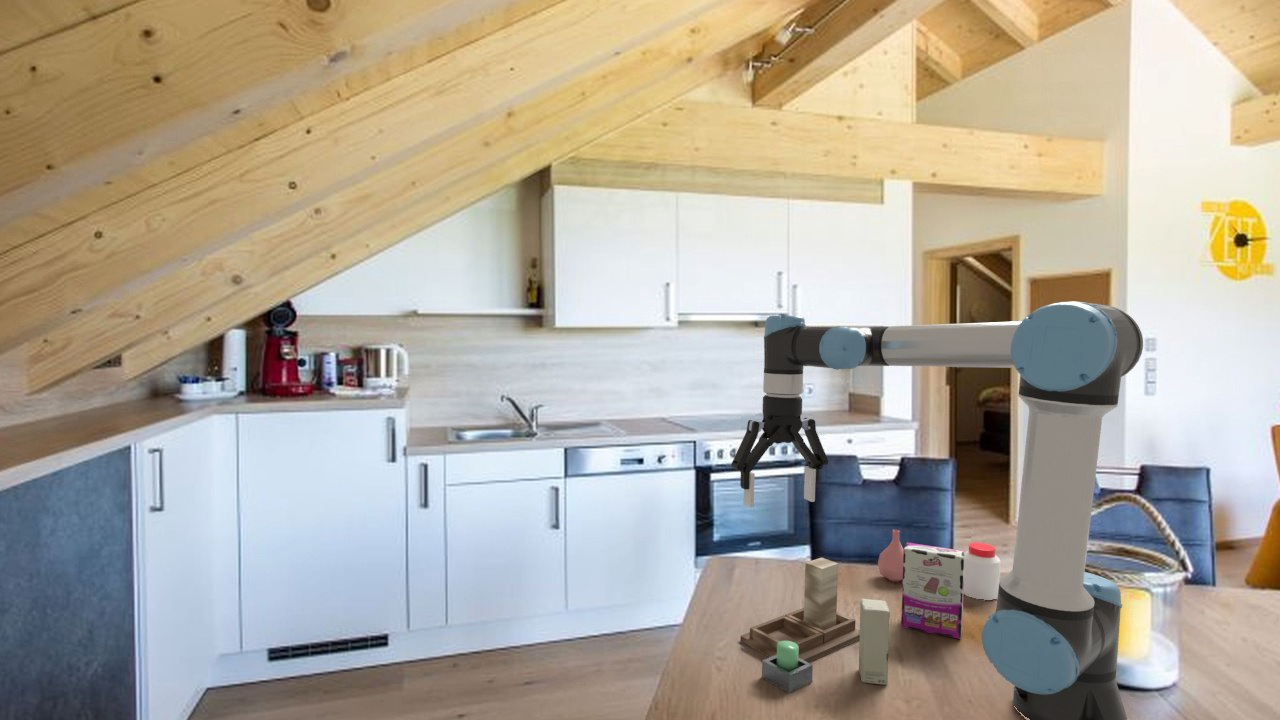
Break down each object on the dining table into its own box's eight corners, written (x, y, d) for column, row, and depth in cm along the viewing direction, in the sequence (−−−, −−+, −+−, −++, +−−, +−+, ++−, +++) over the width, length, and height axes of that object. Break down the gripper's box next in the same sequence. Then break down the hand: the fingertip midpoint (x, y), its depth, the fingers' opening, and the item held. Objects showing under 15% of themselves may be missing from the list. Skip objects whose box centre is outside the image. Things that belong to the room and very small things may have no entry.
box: (888, 686, 114) (891, 612, 113) (861, 683, 115) (863, 609, 114) (883, 670, 119) (886, 599, 118) (857, 667, 120) (860, 597, 119)
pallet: (864, 637, 131) (867, 567, 130) (793, 669, 119) (796, 592, 118) (810, 613, 142) (813, 548, 141) (740, 640, 129) (742, 569, 128)
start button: (802, 669, 115) (803, 646, 115) (788, 676, 113) (789, 653, 112) (786, 660, 118) (786, 638, 117) (772, 667, 116) (772, 644, 115)
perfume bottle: (879, 584, 158) (881, 534, 157) (875, 572, 165) (877, 524, 165) (914, 587, 156) (916, 537, 156) (908, 575, 164) (910, 527, 163)
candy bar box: (962, 630, 135) (966, 550, 134) (961, 640, 131) (965, 557, 130) (902, 617, 140) (906, 540, 139) (900, 627, 136) (903, 547, 135)
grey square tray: (812, 681, 115) (812, 664, 115) (788, 693, 111) (789, 675, 111) (784, 667, 119) (785, 650, 119) (761, 677, 116) (762, 660, 116)
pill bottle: (953, 590, 155) (955, 543, 155) (976, 584, 159) (979, 539, 158) (983, 603, 148) (985, 554, 148) (1006, 597, 152) (1009, 549, 151)
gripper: (825, 391, 138) (822, 493, 139) (715, 394, 130) (713, 502, 131) (848, 395, 131) (844, 502, 132) (733, 398, 123) (731, 513, 124)
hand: (779, 502), depth 132 cm, fingers open, 13 cm apart
